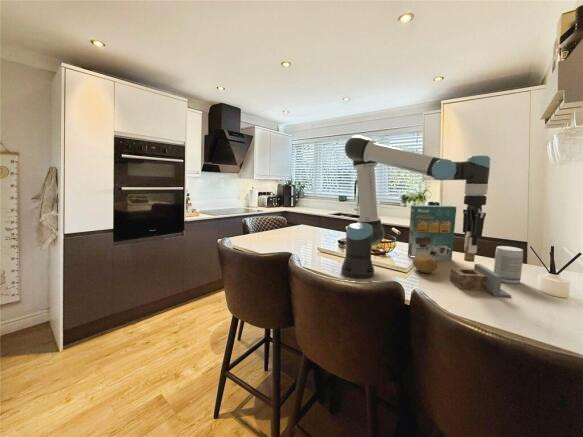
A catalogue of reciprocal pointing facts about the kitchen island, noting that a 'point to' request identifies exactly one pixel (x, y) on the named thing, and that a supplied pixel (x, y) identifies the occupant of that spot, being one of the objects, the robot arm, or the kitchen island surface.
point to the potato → (424, 263)
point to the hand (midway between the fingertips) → (470, 251)
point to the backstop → (492, 282)
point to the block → (468, 279)
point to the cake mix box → (432, 231)
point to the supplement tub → (508, 263)
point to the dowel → (468, 256)
